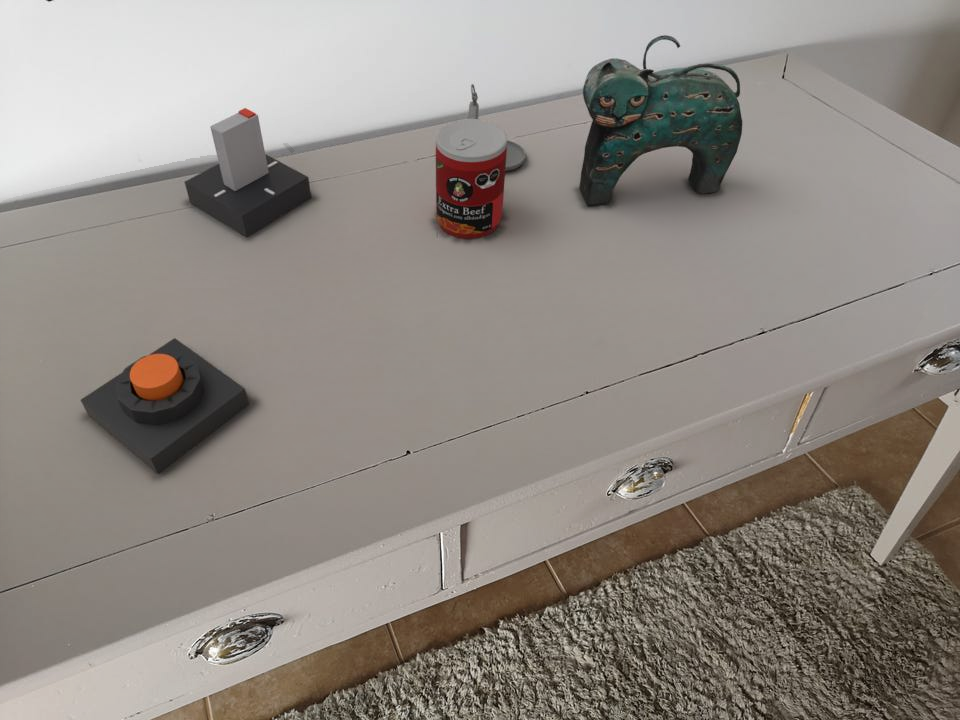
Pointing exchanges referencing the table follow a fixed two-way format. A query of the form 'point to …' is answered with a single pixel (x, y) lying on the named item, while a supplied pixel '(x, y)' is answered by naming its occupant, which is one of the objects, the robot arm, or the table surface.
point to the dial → (240, 149)
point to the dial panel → (249, 196)
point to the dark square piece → (167, 409)
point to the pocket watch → (513, 149)
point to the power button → (156, 377)
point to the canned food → (470, 177)
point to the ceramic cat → (657, 121)
